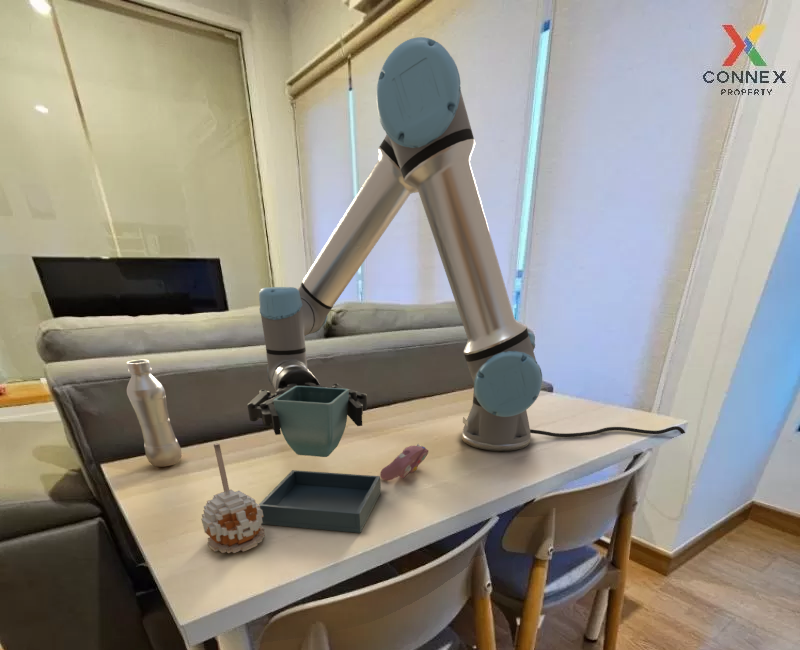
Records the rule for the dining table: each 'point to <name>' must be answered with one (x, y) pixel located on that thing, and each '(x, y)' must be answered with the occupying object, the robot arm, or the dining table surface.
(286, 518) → the tray
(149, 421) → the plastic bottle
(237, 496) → the decorative ornament
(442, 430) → the dining table surface
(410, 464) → the pink elongated piece
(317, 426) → the flower pot
